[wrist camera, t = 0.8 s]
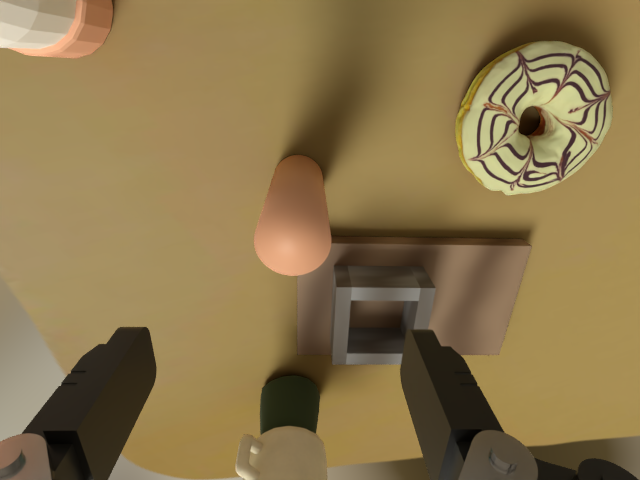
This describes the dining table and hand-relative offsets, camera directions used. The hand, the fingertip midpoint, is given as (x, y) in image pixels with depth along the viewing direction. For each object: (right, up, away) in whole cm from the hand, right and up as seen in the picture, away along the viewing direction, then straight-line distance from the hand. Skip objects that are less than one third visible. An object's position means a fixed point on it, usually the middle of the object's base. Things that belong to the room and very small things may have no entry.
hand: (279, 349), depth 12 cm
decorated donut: (+17, +13, +17) cm, 27 cm away
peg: (0, +8, +18) cm, 20 cm away
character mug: (-2, -13, +28) cm, 31 cm away
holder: (+9, -2, +23) cm, 25 cm away
